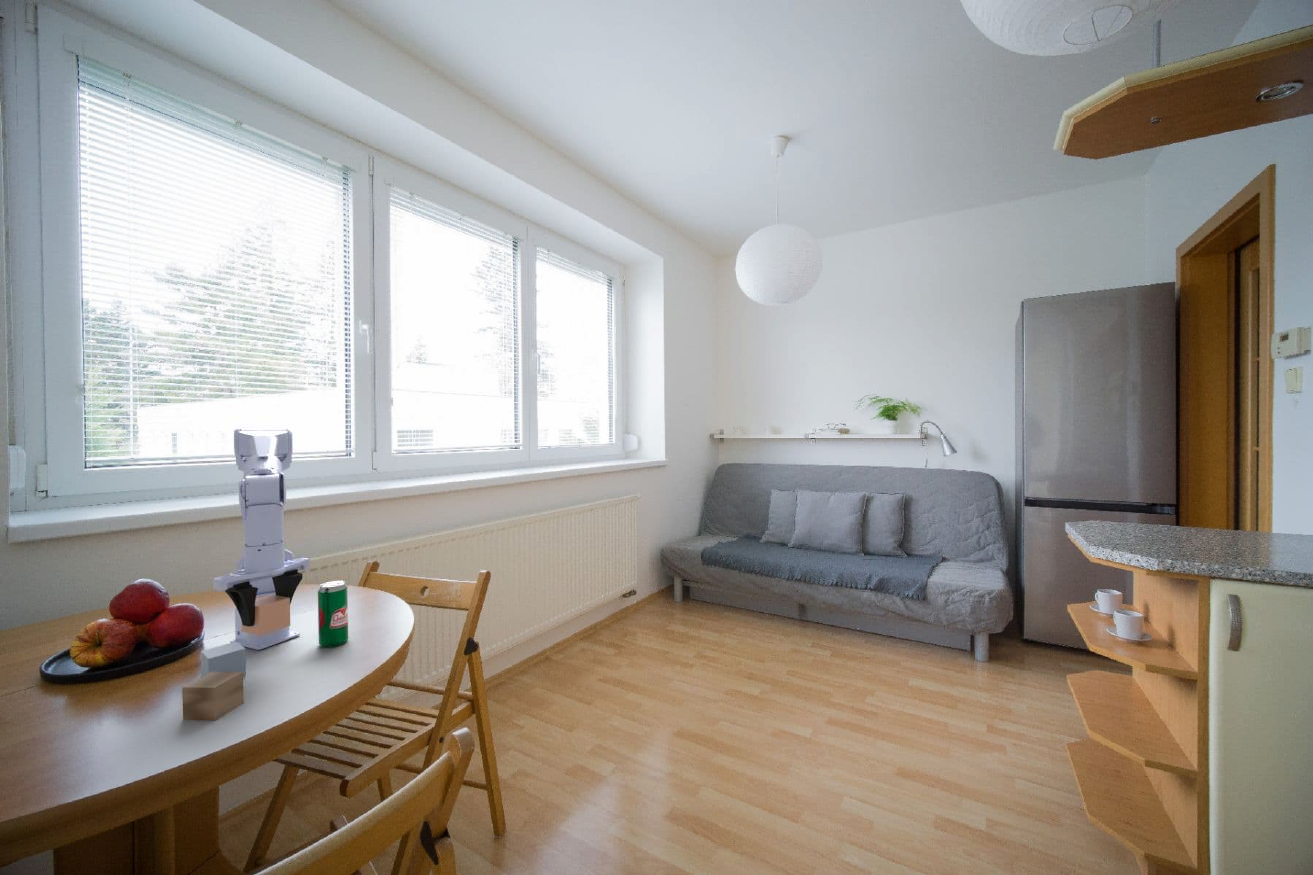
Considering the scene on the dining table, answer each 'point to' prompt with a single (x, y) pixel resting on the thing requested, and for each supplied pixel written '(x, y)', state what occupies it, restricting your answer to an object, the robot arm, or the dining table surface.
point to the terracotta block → (270, 615)
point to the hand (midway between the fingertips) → (265, 619)
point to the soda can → (332, 614)
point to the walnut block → (212, 696)
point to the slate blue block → (224, 659)
